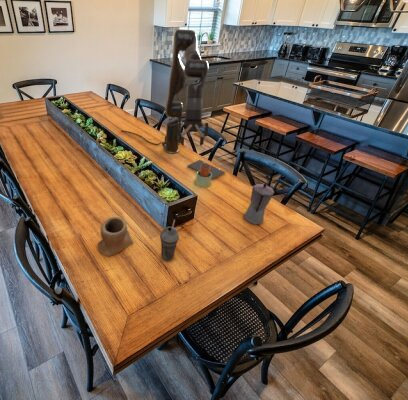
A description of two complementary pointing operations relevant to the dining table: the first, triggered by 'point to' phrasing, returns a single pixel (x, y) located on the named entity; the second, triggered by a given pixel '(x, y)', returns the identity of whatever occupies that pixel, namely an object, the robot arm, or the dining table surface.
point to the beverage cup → (169, 242)
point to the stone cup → (114, 236)
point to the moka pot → (258, 203)
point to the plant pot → (205, 170)
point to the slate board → (213, 170)
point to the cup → (203, 179)
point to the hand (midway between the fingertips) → (191, 145)
